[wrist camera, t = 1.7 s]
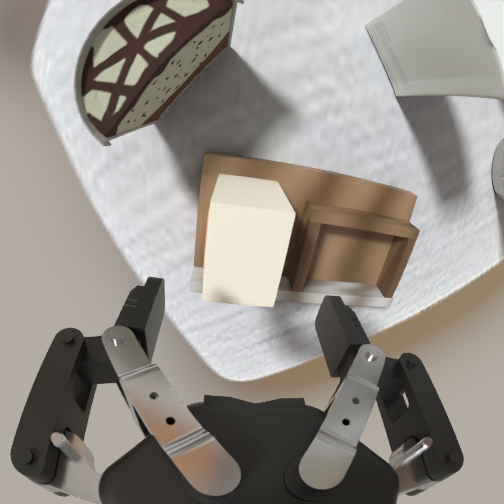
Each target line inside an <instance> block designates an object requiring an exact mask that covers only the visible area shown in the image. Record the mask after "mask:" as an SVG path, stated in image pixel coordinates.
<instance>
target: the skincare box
mask: <svg viewBox="0 0 504 504" xmlns="http://www.w3.org/2000/svg"><path fill="white" fill-rule="evenodd" d="M365 27H366V29H367V31H368V33H369V35H370V37H371V39H372V41H373V43H374V45H375V47H376V49H377V51H378V53H379V55H380V58H381V60H382V62H383V64H384V67H385V69H386V72H387V74H388V76H389V78H390V81H391V83H392V86H393V88H394V91H395V94H396V96H397V97H404V96H468V97H482V98H493V99H500V100H504V0H403V1H401V2H400V3H398V4H397V5H395V6H393V7H392V8H390V9H389V10H387V11H385V12H384V13H382V14H381V15H379V16H378V17H376V18H375V19H373V20H372V21H370V22H369V23H368V24H366V25H365Z"/></svg>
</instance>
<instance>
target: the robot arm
mask: <svg viewBox="0 0 504 504" xmlns="http://www.w3.org/2000/svg"><path fill="white" fill-rule="evenodd" d="M492 180H493V186H494V189H495V192H496V194H497V196H498V197H499V198H500V199H502V200H504V139H503V140H502V141H501V142H500V144H499V146H498V147H497V150H496V152H495V156H494V160H493V168H492ZM164 310H165V290H164V279H163V278H155V277H148V279H147V281H146V284H145V286H136V287H135V288H134V289H133V290H132V291H131V292H130V293H129V295H128V297H127V300H126V302H125V304H124V306H123V308H122V310H121V312H120V314H119V317H118V319H117V321H116V323H115V325H114V326H113V327H110V328H108V329H107V330H106V331H105V332H104V333H103V335H102V336H97V337H83V334H82V333H81V332H80V331H79V330H77V329H75V328H66V329H63V330H61V331H59V332H58V333H57V334H56V336H55V338H54V340H53V342H52V344H51V346H50V348H49V350H48V352H47V354H46V357H45V358H44V361H43V363H42V365H41V367H40V370H39V372H38V374H37V377H36V379H35V381H34V384H33V386H32V389H31V391H30V394H29V396H28V399H27V402H26V405H25V407H24V410H23V413H22V416H21V419H20V422H19V425H18V428H17V431H16V434H15V438H14V441H13V445H12V448H11V461H12V463H13V465H14V467H15V468H16V469H17V470H18V471H19V472H20V473H21V474H23V475H25V476H26V477H27V478H29V479H30V480H31V481H32V482H34V483H35V484H37V485H39V486H40V487H42V488H44V489H46V490H48V491H50V492H53V493H55V494H57V495H59V496H64V497H65V496H69V495H71V496H74V497H77V498H80V499H84V500H87V501H90V502H94V503H97V504H396V501H397V497H398V496H400V495H403V494H406V495H409V496H413V495H417V494H419V493H421V492H423V491H425V490H427V489H428V488H430V487H432V486H434V485H435V484H437V483H439V482H441V481H443V480H444V479H446V478H448V477H449V476H451V475H453V474H454V473H456V472H457V471H459V470H460V468H461V467H462V465H463V461H464V458H463V454H462V451H461V448H460V446H459V443H458V440H457V438H456V435H455V433H454V430H453V428H452V425H451V423H450V421H449V418H448V416H447V414H446V411H445V409H444V407H443V405H442V402H441V400H440V399H439V396H438V394H437V392H436V389H435V387H434V385H433V384H432V381H431V379H430V377H429V375H428V373H427V371H426V369H425V367H424V365H423V363H422V361H421V360H420V359H419V358H418V357H417V356H416V355H414V354H411V353H403V354H402V355H401V356H400V358H399V359H393V358H388V357H385V354H384V352H383V351H382V350H381V349H380V348H379V347H377V346H375V345H372V344H370V342H369V340H368V338H367V336H366V334H365V332H364V330H363V328H362V326H361V324H360V322H359V321H358V318H357V316H356V314H355V312H354V311H353V310H352V309H351V308H350V307H348V306H345V304H344V302H343V300H342V298H341V297H340V296H331V295H326V296H325V297H324V298H323V301H322V304H321V306H320V309H319V312H318V314H317V317H316V321H315V328H316V332H317V335H318V338H319V341H320V344H321V347H322V350H323V353H324V356H325V359H326V362H327V366H328V369H329V372H330V375H331V377H340V382H339V384H338V385H337V387H336V389H335V391H334V393H333V395H332V396H331V398H330V400H329V402H328V404H327V405H326V407H325V409H324V411H321V410H319V409H317V408H314V407H312V406H308V405H305V402H304V398H281V399H276V400H271V401H267V402H262V403H251V402H247V401H243V400H239V399H235V398H232V397H223V396H210V395H204V402H199V403H194V404H191V405H188V406H185V404H184V403H183V402H182V400H181V399H180V397H179V396H178V395H177V393H176V392H175V391H174V389H173V388H172V386H171V385H170V383H169V382H168V381H167V379H166V378H165V376H164V375H163V373H162V372H161V370H160V369H159V367H158V366H157V365H156V364H153V365H152V364H151V360H152V356H153V353H154V349H155V344H156V341H157V337H158V334H159V330H160V326H161V323H162V319H163V316H164ZM102 383H103V384H104V383H116V385H117V387H118V389H119V391H120V393H121V395H122V397H123V399H124V400H125V402H126V404H127V406H128V408H129V410H130V412H131V414H132V416H133V418H134V420H135V422H136V424H137V425H138V427H139V429H140V431H141V432H142V434H143V436H144V437H145V439H144V440H142V441H141V442H140V443H138V444H137V445H136V446H135V447H134V448H132V449H131V450H130V451H128V452H127V453H126V454H125V455H123V456H122V457H121V458H119V459H118V460H117V461H116V462H114V463H113V464H112V465H110V466H109V467H108V468H107V469H106V470H105V471H104V472H103V474H102V475H101V474H99V473H97V472H96V470H95V467H94V457H93V454H92V452H91V451H90V450H89V448H88V447H87V446H86V445H85V444H84V443H83V441H84V436H85V431H86V427H87V422H88V418H89V414H90V410H91V405H92V402H93V398H94V394H95V390H96V387H97V384H102ZM404 392H405V394H406V396H407V399H408V402H409V407H408V408H407V405H406V403H405V400H404V397H403V393H404ZM375 399H376V401H377V404H378V407H379V410H380V414H381V417H382V419H383V423H384V426H385V430H386V433H387V437H388V440H389V444H390V447H391V450H392V454H391V456H390V458H389V463H387V462H386V461H385V460H383V459H382V458H381V457H379V456H378V455H377V454H375V453H374V452H373V451H372V450H370V449H369V448H368V447H366V446H365V445H364V444H363V443H361V442H360V441H359V439H360V437H361V435H362V432H363V430H364V428H365V425H366V423H367V420H368V418H369V415H370V413H371V410H372V407H373V405H374V402H375Z"/></svg>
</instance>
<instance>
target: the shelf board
mask: <svg viewBox="0 0 504 504" xmlns="http://www.w3.org/2000/svg"><path fill="white" fill-rule="evenodd" d="M219 174H227V175H235V176H243V177H250V178H257V179H264V180H271V181H278V183H279V184H280V186H281V188H282V190H283V192H284V193H285V195H286V197H287V199H288V201H289V202H290V204H291V206H292V208H293V210H294V212H295V213H296V214H295V219H294V223H293V228H292V232H291V237H290V241H289V245H288V249H287V254H286V258H285V262H284V266H283V270H282V275H281V279H280V283H279V287H278V291H277V295H276V299H275V300H276V301H288V302H302V303H316V304H322V301H323V298H324V297H325V296H326V295H331V296H340V297H341V298H342V300H343V302H344V304H345V305H352V306H375V307H390V305H391V303H392V301H393V299H394V298H393V294H394V292H395V290H396V288H397V285H398V283H399V281H400V279H401V276H402V274H403V272H404V269H405V267H406V265H407V262H408V260H409V257H410V255H411V252H412V250H413V247H414V245H415V242H416V239H417V237H418V234H419V231H420V230H419V229H417V228H416V227H415V226H414V225H412V224H411V223H410V222H409V221H410V218H411V215H412V212H413V208H414V205H415V202H416V199H417V196H416V195H415V194H413V193H411V192H409V191H406V190H402V189H399V188H395V187H392V186H388V185H384V184H381V183H377V182H373V181H369V180H365V179H361V178H357V177H352V176H348V175H344V174H339V173H335V172H330V171H325V170H320V169H315V168H310V167H305V166H300V165H294V164H289V163H283V162H277V161H270V160H264V159H257V158H250V157H243V156H235V155H227V154H218V153H209V152H205V153H204V155H203V164H202V173H201V183H200V193H199V204H198V215H197V228H196V242H195V257H194V268H193V272H192V276H191V280H190V292H197V293H202V292H203V277H202V276H203V263H204V250H205V238H206V227H207V217H208V211H209V207H210V201H211V198H212V195H213V192H214V189H215V185H216V182H217V179H218V176H219Z"/></svg>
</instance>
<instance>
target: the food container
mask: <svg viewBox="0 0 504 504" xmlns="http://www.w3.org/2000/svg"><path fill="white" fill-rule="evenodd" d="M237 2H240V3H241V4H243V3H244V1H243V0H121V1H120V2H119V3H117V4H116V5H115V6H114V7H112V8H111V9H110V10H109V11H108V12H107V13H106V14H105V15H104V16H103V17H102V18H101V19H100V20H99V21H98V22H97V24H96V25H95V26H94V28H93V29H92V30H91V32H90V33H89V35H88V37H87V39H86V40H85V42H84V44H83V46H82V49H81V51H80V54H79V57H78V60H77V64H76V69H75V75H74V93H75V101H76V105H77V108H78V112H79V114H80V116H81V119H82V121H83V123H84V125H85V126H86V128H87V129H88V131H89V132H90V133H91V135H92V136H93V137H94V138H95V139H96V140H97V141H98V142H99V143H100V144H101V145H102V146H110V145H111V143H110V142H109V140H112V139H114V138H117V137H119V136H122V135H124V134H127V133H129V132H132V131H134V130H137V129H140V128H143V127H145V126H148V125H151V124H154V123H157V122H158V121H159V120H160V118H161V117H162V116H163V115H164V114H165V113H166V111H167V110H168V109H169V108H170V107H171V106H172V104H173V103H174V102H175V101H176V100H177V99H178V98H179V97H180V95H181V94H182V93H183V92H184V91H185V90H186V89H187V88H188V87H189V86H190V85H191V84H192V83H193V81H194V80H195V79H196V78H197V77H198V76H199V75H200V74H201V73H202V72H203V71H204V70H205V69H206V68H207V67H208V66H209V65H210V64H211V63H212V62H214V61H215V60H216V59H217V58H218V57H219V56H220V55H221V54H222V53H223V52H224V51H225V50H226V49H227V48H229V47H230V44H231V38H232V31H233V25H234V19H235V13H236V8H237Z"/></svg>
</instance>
